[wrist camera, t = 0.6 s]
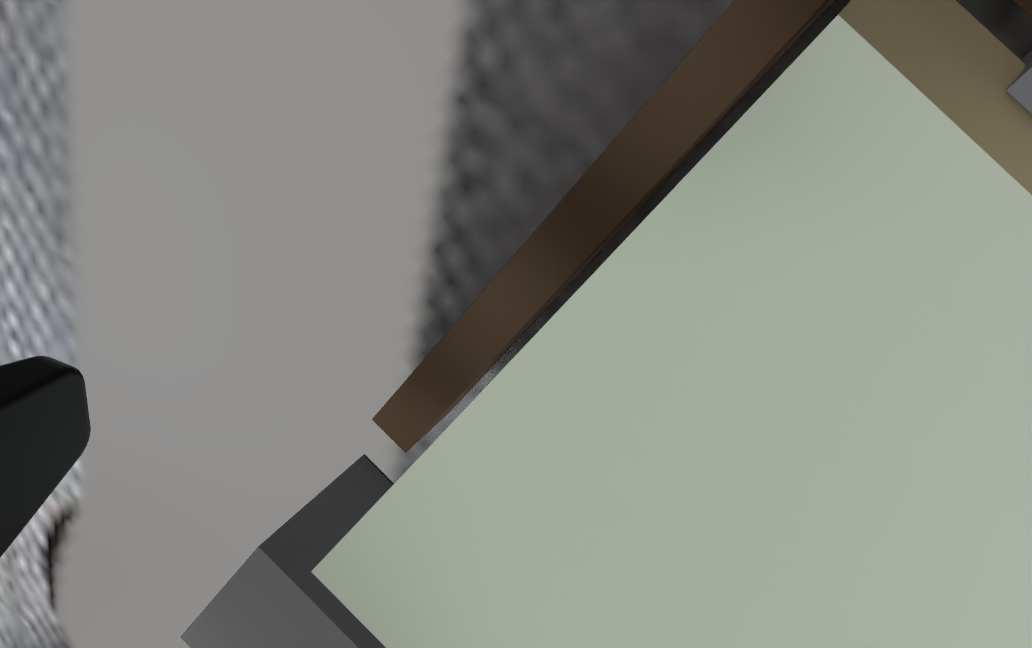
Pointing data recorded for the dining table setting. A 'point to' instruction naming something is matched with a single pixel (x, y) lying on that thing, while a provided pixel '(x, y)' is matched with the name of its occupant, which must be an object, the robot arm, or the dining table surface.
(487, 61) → the dining table surface
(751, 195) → the trapdoor
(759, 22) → the frame
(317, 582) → the gray cube
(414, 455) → the dining table surface
